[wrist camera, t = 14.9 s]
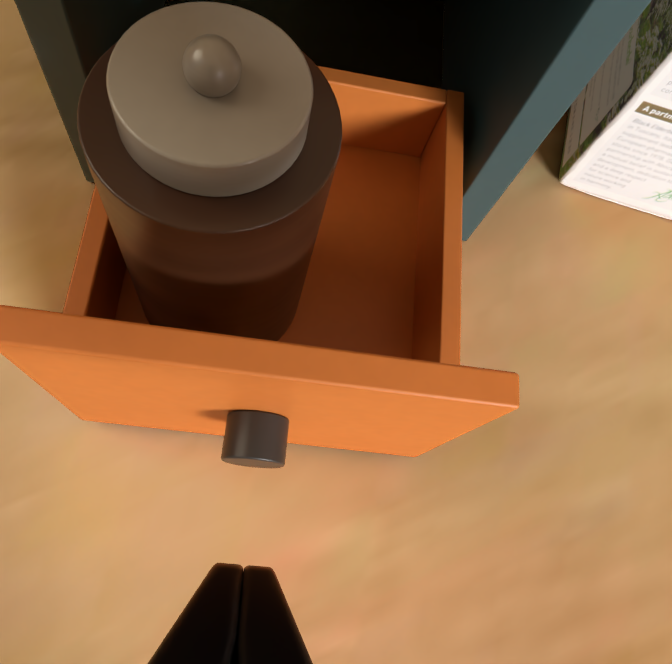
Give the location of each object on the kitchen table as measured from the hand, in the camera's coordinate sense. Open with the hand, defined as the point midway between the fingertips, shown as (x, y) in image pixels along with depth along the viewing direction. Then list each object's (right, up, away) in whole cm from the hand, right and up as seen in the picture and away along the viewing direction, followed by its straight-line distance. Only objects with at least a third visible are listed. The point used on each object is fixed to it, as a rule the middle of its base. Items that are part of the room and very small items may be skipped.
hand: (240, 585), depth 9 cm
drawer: (-1, +5, +12) cm, 13 cm away
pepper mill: (-2, +5, +11) cm, 12 cm away
